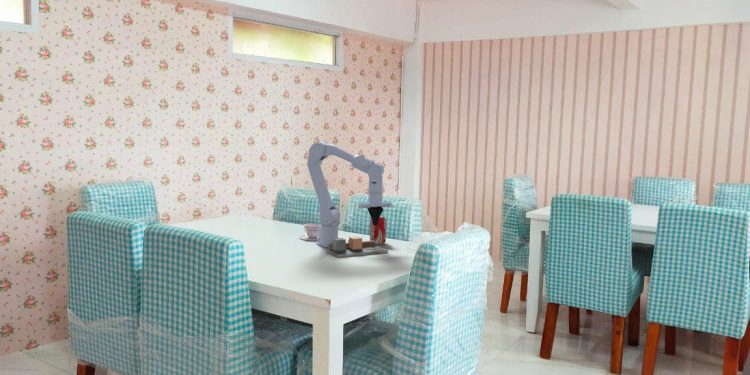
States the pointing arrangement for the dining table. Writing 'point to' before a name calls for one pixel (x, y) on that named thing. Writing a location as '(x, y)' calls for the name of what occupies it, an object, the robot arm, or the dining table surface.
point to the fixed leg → (339, 245)
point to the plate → (364, 251)
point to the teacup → (311, 232)
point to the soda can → (378, 231)
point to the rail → (364, 244)
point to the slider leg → (355, 243)
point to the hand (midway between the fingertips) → (375, 224)
